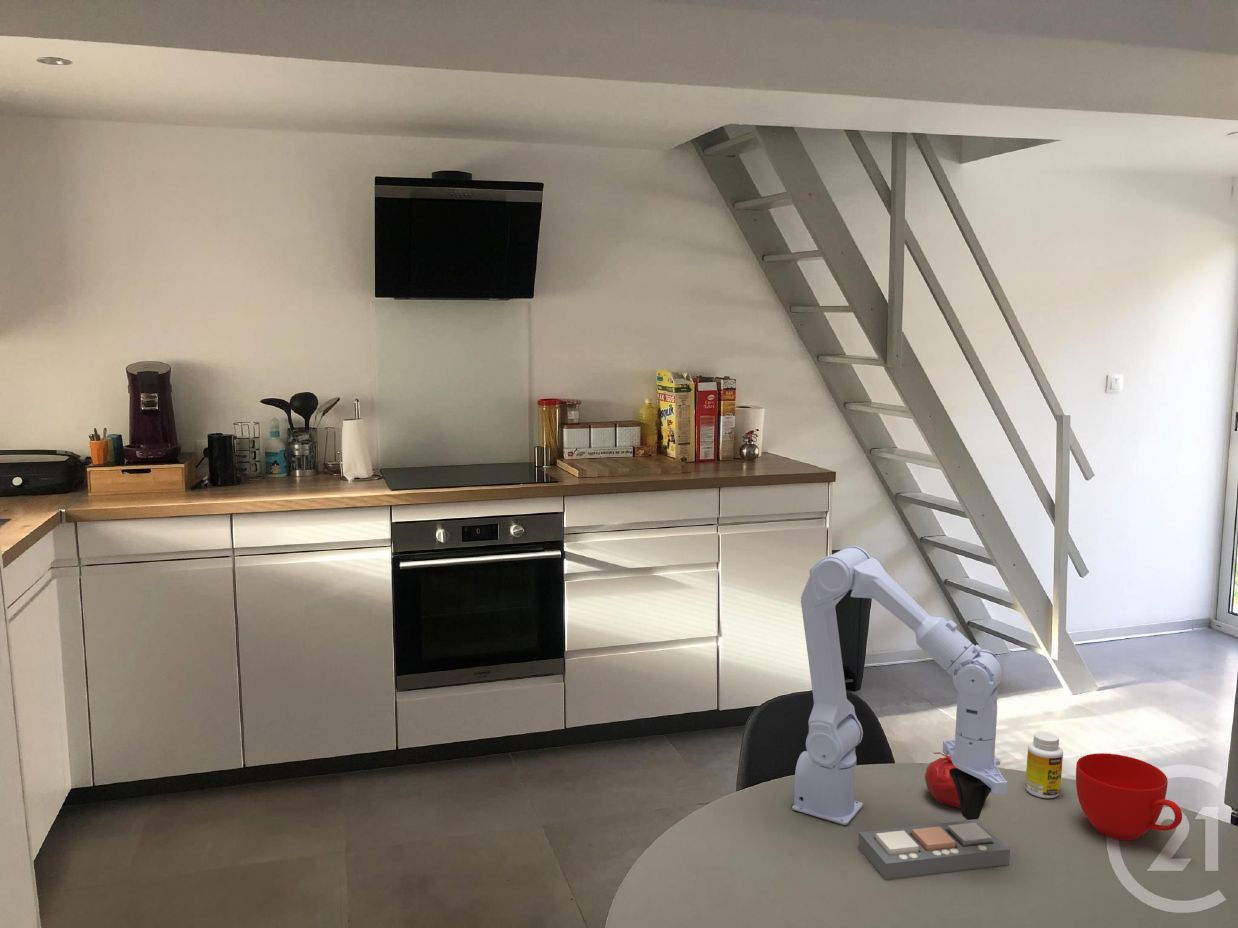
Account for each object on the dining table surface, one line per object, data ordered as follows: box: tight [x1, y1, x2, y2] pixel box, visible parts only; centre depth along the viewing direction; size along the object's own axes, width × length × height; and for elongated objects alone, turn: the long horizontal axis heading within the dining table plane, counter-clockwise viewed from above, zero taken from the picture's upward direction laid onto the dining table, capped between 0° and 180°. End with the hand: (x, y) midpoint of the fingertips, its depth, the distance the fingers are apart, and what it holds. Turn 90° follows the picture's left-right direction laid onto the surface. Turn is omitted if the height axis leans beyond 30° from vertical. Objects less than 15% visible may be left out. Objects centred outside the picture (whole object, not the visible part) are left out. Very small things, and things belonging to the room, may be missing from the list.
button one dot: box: [948, 823, 992, 847], centre depth 151 cm, size 5×5×2 cm
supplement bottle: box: [1024, 731, 1064, 799], centre depth 169 cm, size 6×6×10 cm
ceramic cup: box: [1075, 752, 1183, 841], centre depth 155 cm, size 13×17×10 cm
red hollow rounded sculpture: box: [924, 751, 961, 809], centre depth 167 cm, size 10×10×9 cm
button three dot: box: [912, 826, 956, 851], centre depth 149 cm, size 5×5×2 cm
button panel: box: [857, 819, 1011, 881], centre depth 150 cm, size 20×9×3 cm, turn 102°
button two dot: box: [876, 830, 919, 856], centre depth 148 cm, size 5×5×2 cm
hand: (970, 817), depth 150 cm, fingers closed
